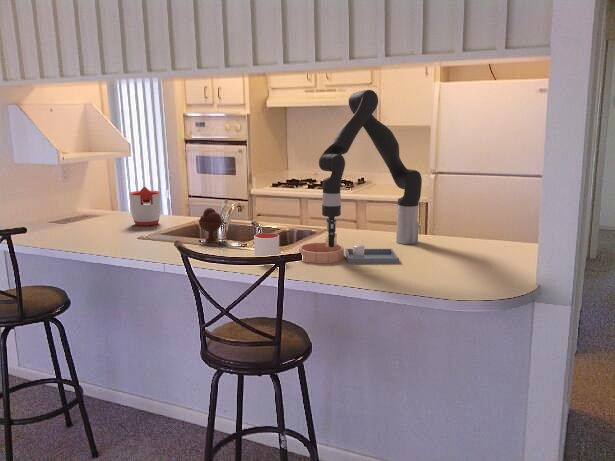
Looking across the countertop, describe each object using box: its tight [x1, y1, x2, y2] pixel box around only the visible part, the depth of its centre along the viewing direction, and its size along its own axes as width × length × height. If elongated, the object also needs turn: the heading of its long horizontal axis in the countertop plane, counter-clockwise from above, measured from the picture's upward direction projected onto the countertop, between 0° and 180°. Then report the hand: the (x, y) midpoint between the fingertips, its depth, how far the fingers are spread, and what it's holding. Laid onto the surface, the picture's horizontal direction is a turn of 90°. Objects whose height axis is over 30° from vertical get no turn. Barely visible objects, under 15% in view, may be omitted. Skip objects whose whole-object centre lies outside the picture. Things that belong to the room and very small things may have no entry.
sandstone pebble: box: [324, 232, 338, 247], centre depth 227 cm, size 5×5×5 cm
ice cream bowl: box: [198, 207, 223, 243], centre depth 259 cm, size 11×11×15 cm
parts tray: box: [344, 248, 399, 264], centre depth 227 cm, size 20×16×2 cm
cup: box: [253, 232, 280, 257], centre depth 226 cm, size 10×10×10 cm
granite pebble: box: [352, 244, 365, 258], centre depth 226 cm, size 5×5×5 cm
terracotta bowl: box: [298, 241, 345, 264], centre depth 228 cm, size 18×18×4 cm
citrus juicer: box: [129, 186, 161, 227], centre depth 295 cm, size 16×17×20 cm
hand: (330, 245), depth 228 cm, fingers closed on sandstone pebble, 4 cm apart
